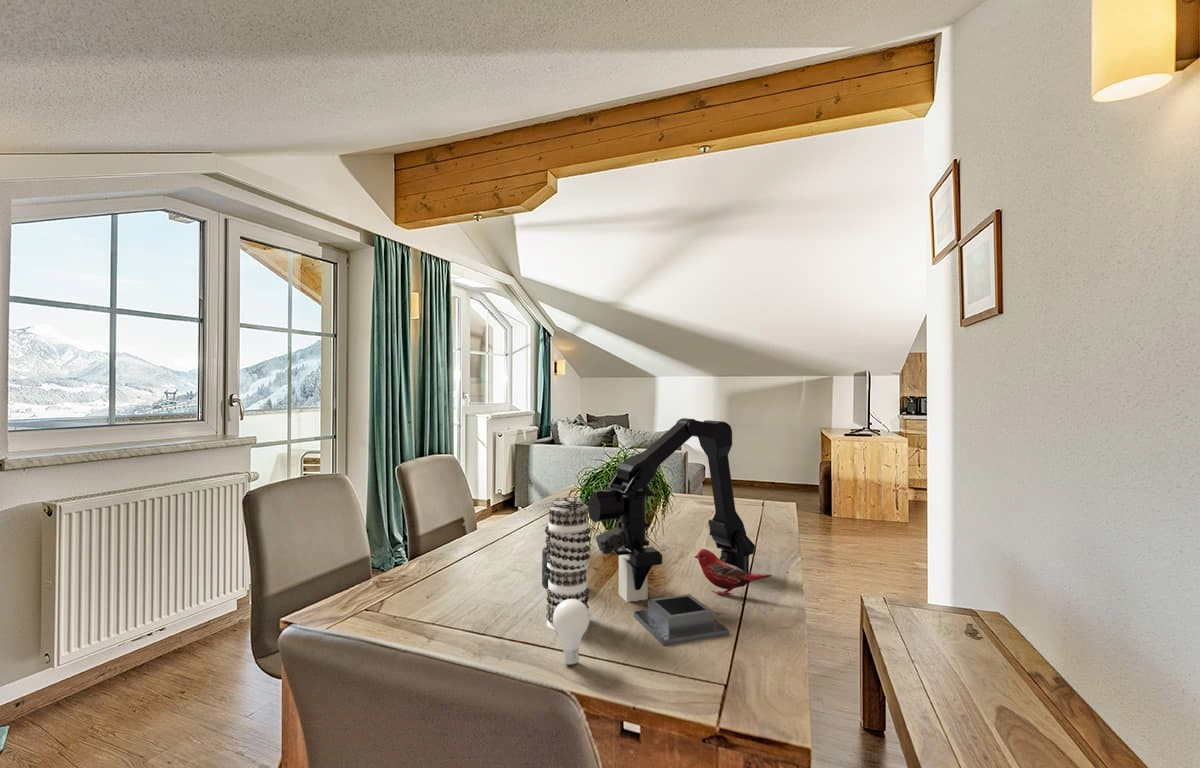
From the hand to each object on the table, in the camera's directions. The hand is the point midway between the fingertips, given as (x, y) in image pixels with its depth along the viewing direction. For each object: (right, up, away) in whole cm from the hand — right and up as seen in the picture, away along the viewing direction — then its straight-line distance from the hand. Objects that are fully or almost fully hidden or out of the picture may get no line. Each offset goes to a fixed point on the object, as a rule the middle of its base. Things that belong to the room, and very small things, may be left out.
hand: (632, 585), depth 127 cm
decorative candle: (-14, -3, -14) cm, 20 cm away
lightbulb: (-12, -3, -31) cm, 33 cm away
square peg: (0, -3, 0) cm, 2 cm away
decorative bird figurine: (+23, -3, 0) cm, 23 cm away
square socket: (+9, -3, -15) cm, 17 cm away
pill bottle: (-18, -3, +7) cm, 20 cm away
